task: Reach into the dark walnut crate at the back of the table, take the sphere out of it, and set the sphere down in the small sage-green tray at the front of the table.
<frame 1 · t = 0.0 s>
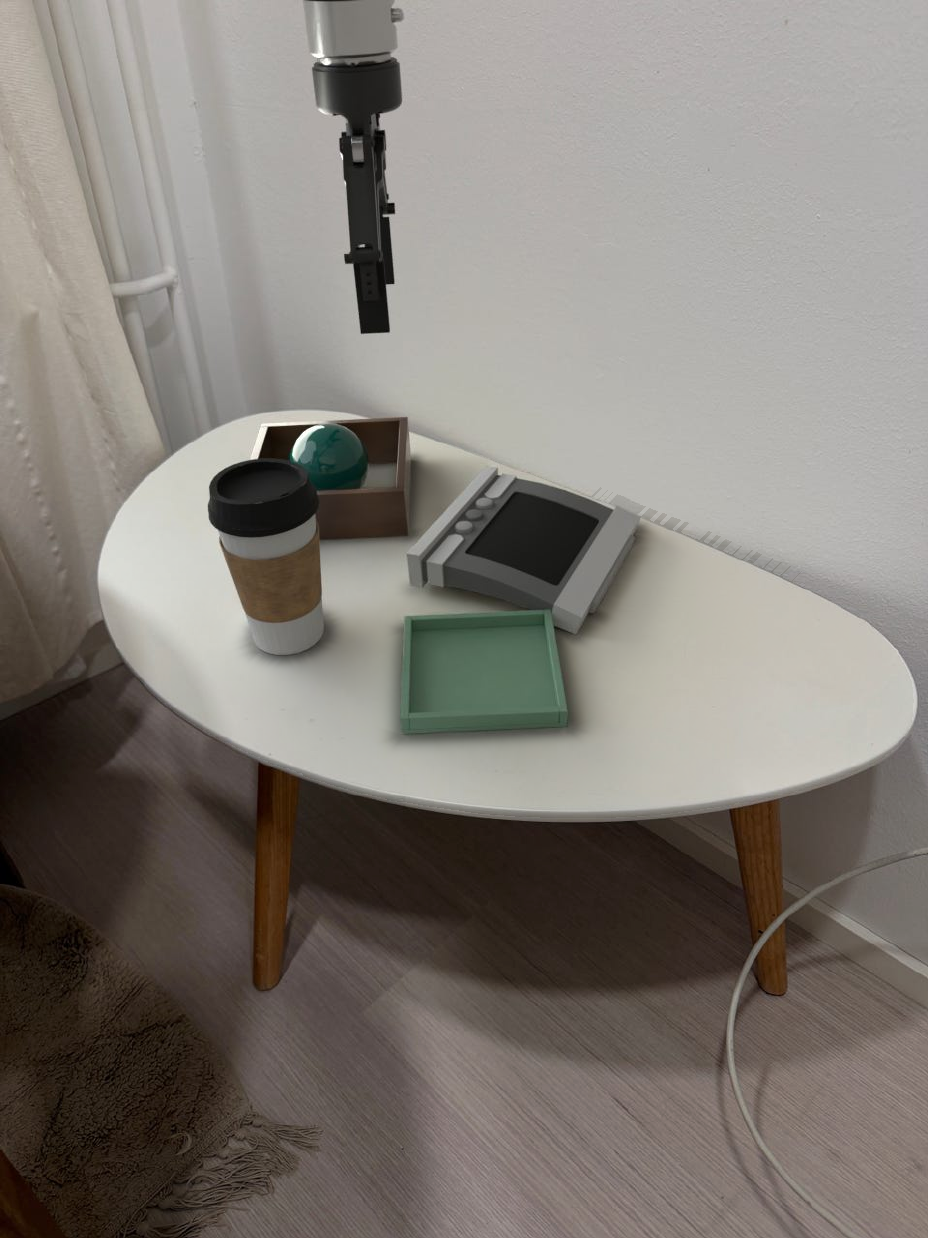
hand: (378, 306, 91), 17 cm above the table, tool pointing down, fingers open, 13 cm apart
coffee cup: (289, 634, 78), on the table
crate: (334, 498, 95), on the table
alarm clock: (529, 560, 85), on the table, touching tray
tray: (481, 675, 73), on the table
sphere: (334, 499, 95), resting in crate
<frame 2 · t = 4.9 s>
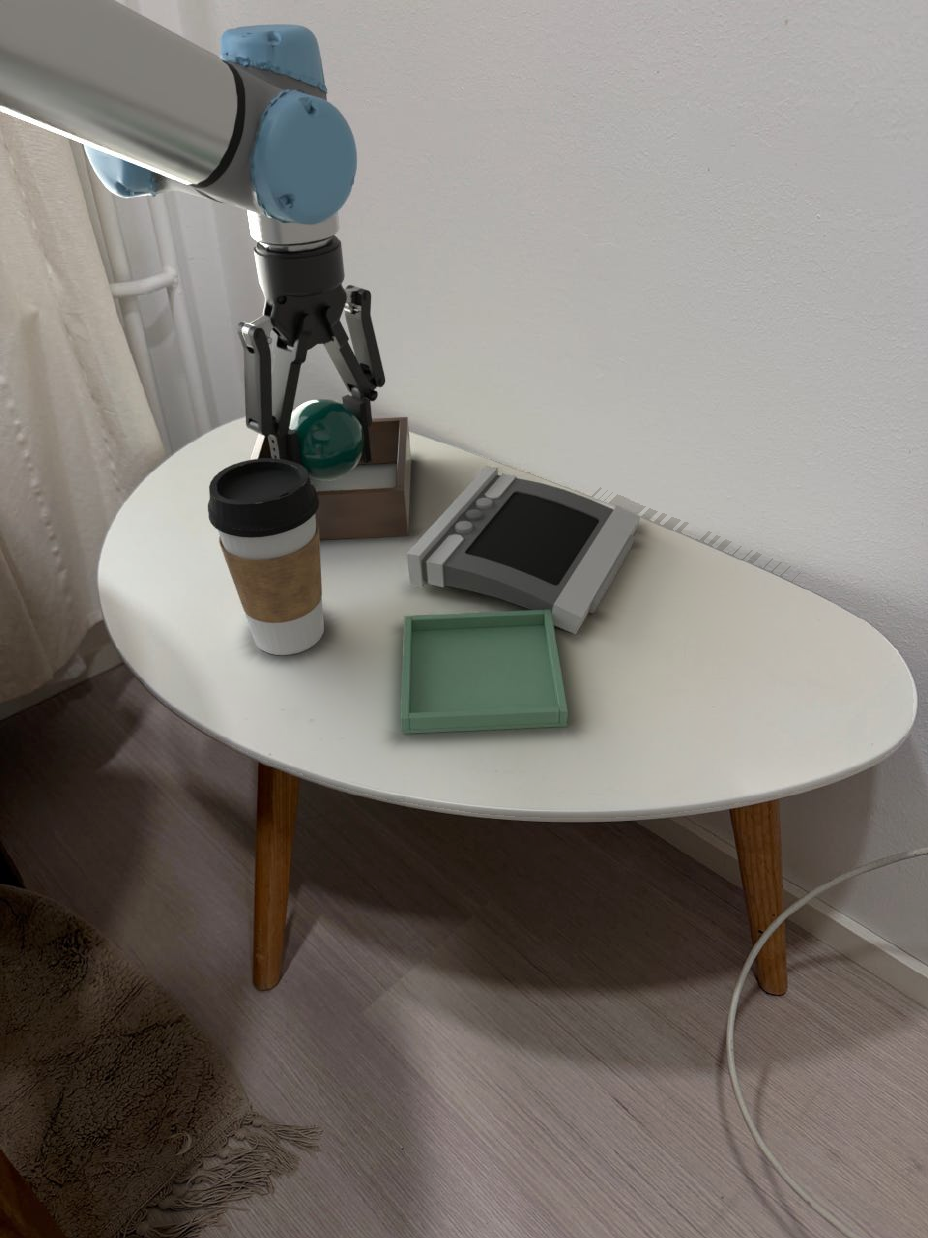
hand: (328, 473, 93), 3 cm above the table, tool pointing down, fingers closed on sphere, 8 cm apart
sphere: (328, 477, 93), point 3 cm above the table, touching gripper
everything else where it was.
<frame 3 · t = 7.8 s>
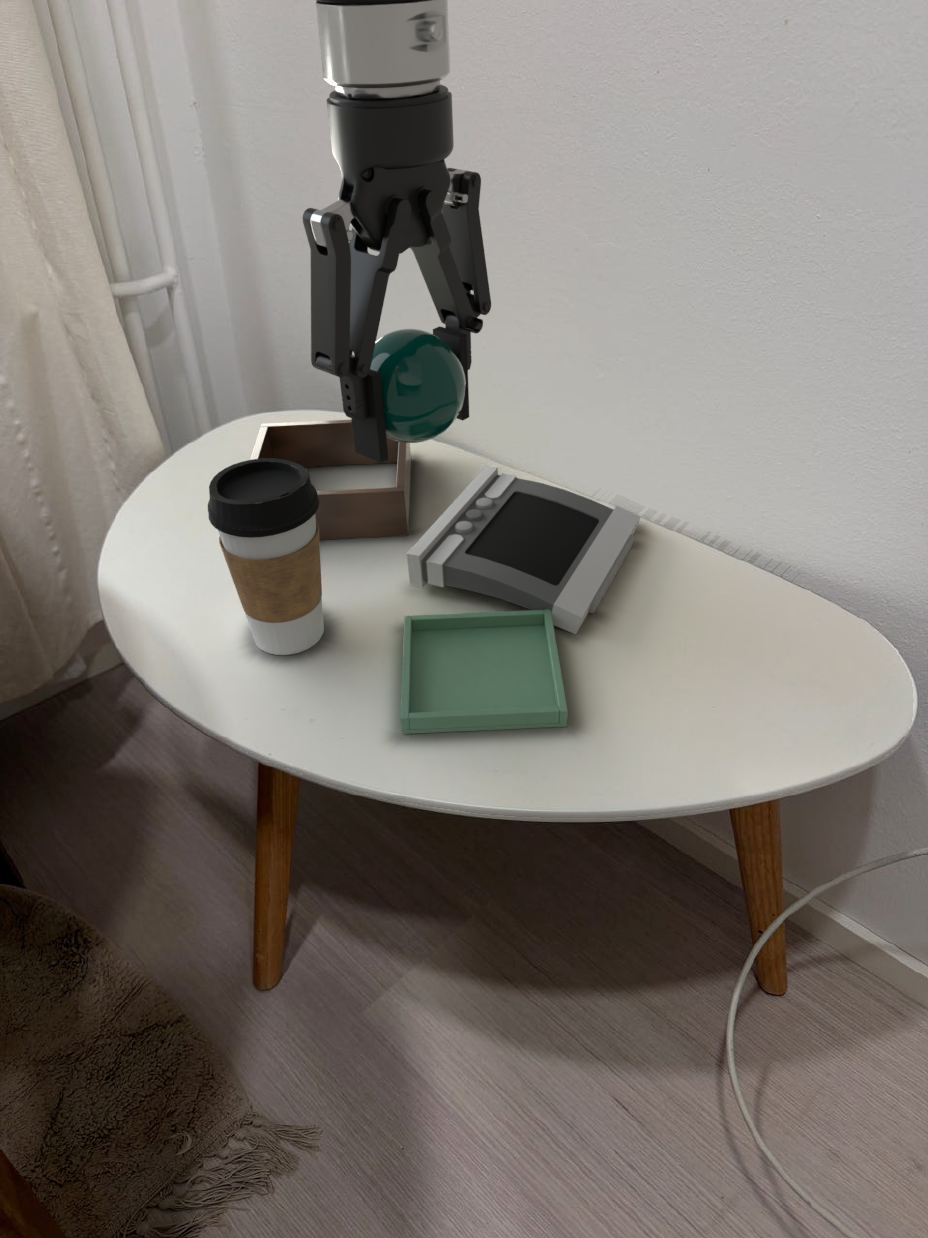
hand: (413, 433, 69), 17 cm above the table, tool pointing down, fingers closed on sphere, 8 cm apart
sphere: (414, 439, 69), point 17 cm above the table, touching gripper
everything else where it was.
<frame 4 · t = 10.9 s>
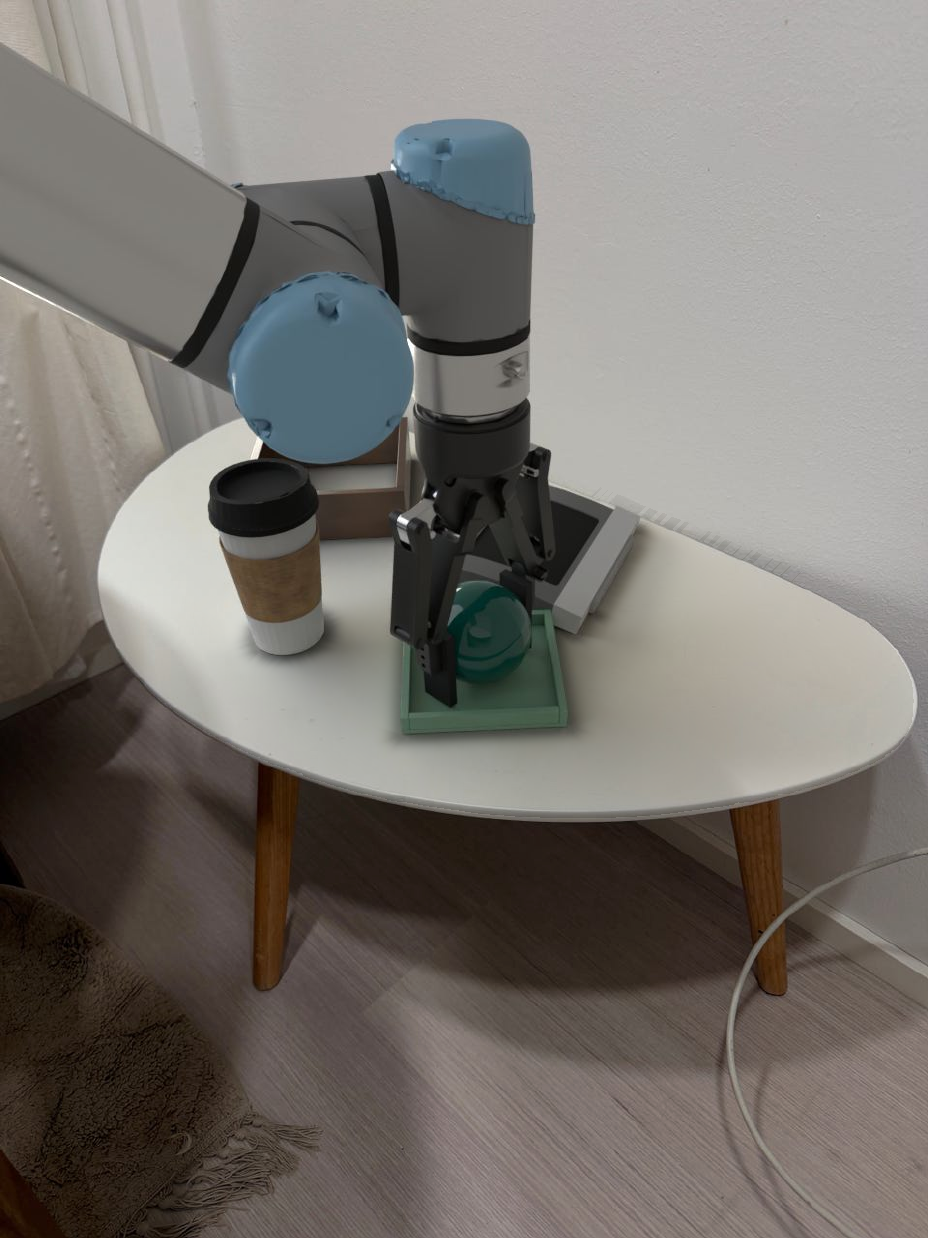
hand: (479, 669, 72), 1 cm above the table, tool pointing down, fingers closed on sphere, 8 cm apart
sphere: (480, 673, 72), resting on tray, touching gripper
everything else where it was.
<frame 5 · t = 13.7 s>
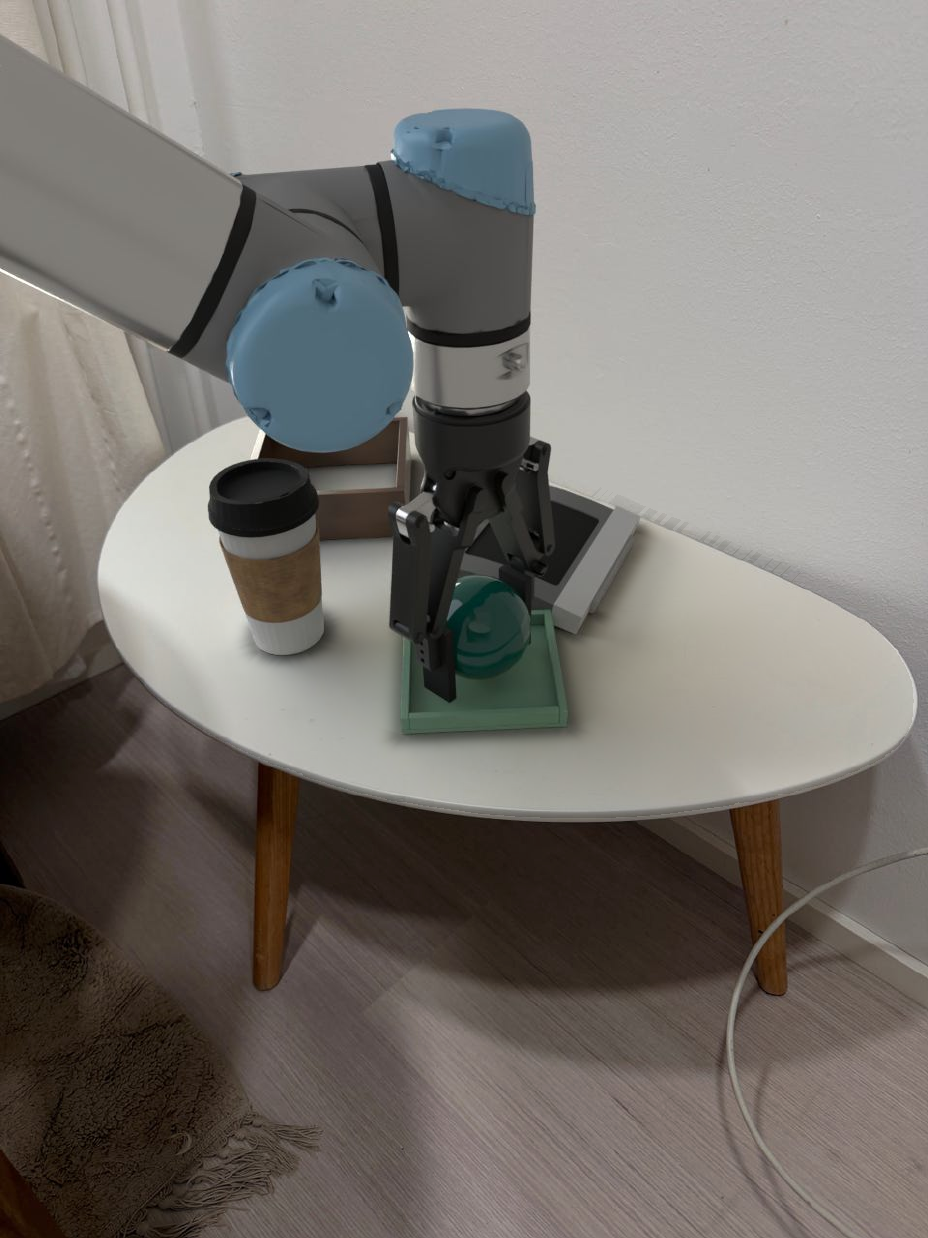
hand: (478, 664, 72), 1 cm above the table, tool pointing down, fingers closed on sphere, 8 cm apart
sphere: (479, 669, 72), point 1 cm above the table, touching gripper
everything else where it was.
when the fingers open (1 cm above the table, at t = 16.3 s): sphere stays where it is, resting on tray.
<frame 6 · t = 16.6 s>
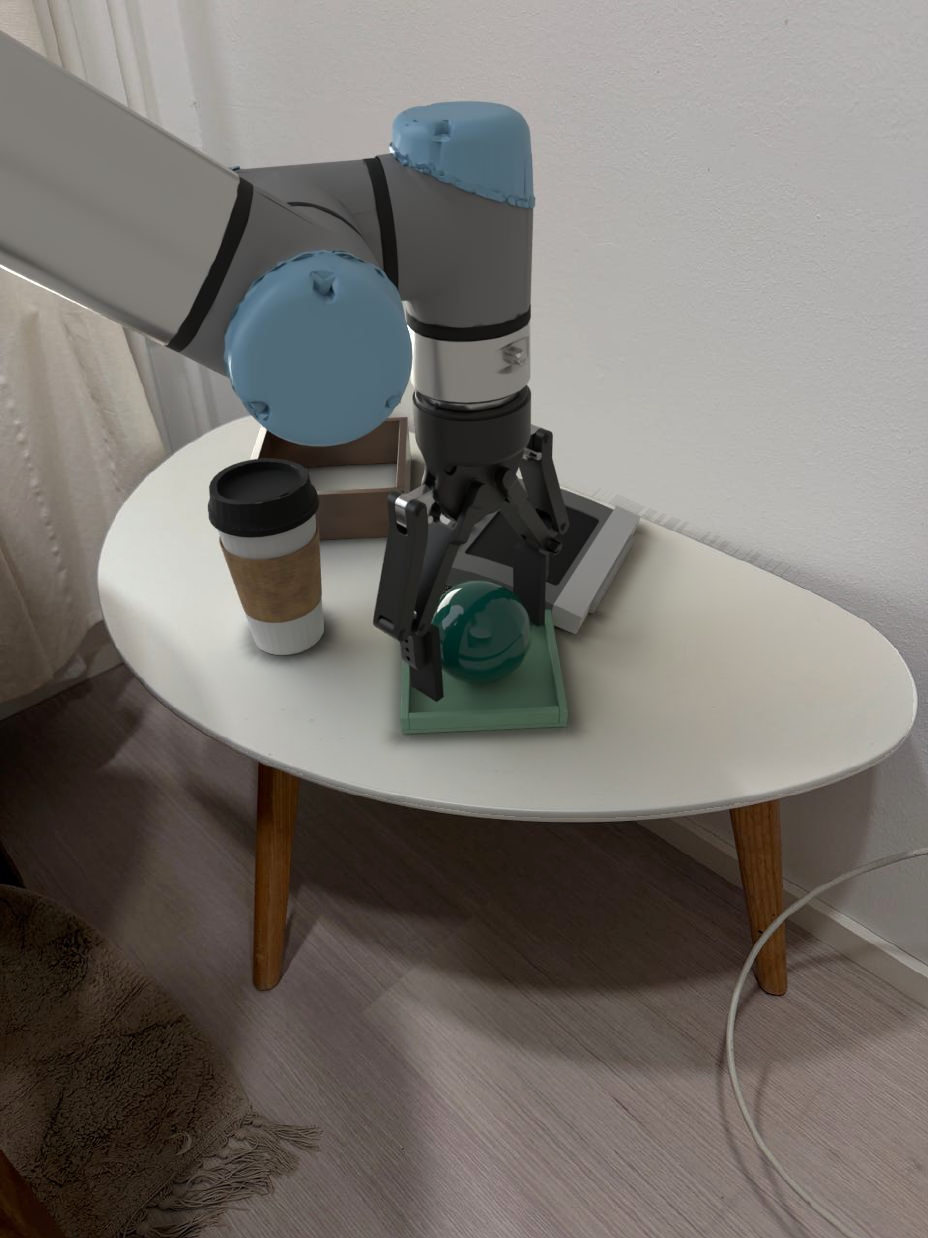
hand: (480, 653, 71), 2 cm above the table, tool pointing down, fingers open, 11 cm apart
sphere: (480, 673, 73), resting on tray
everything else where it was.
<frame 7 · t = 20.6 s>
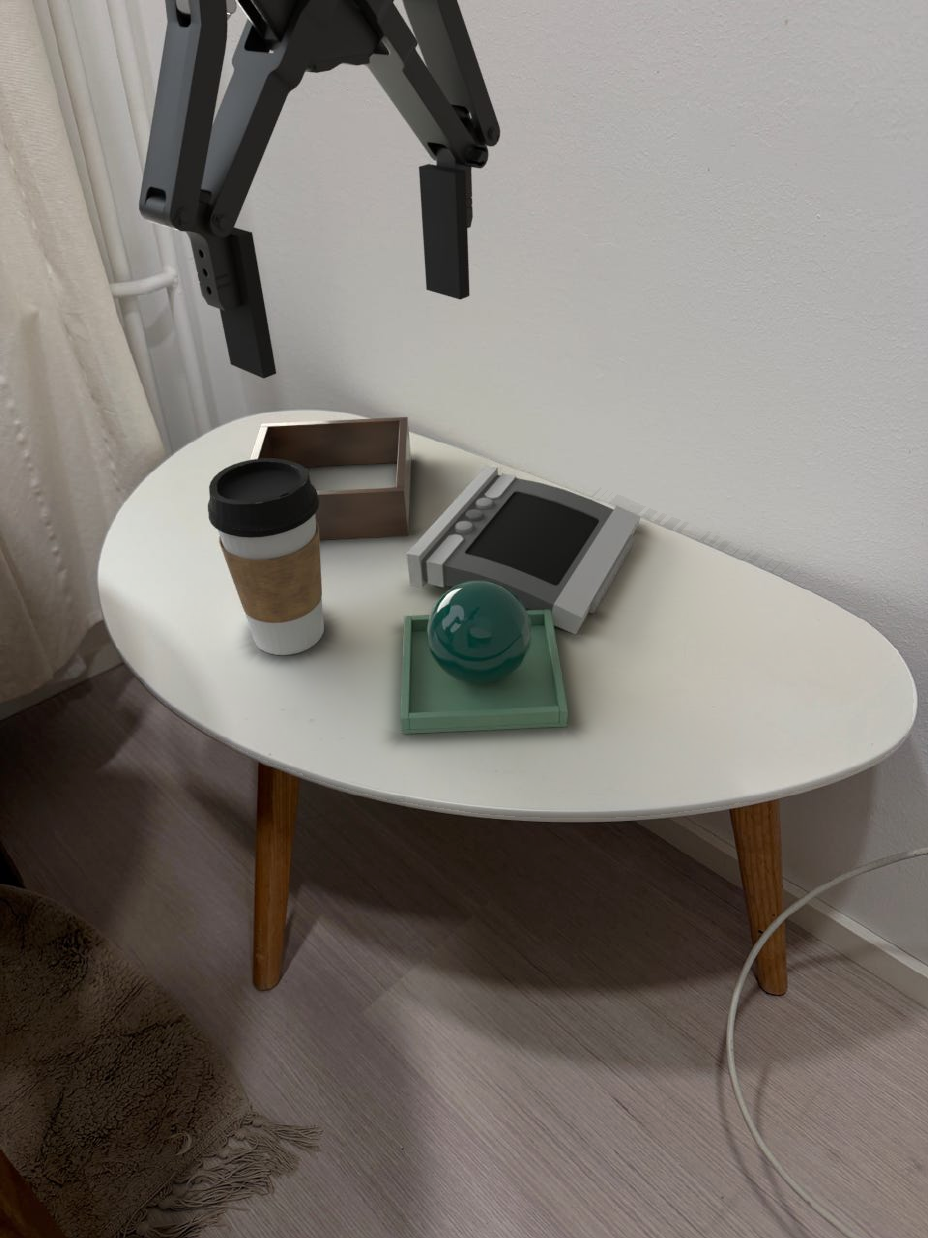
hand: (358, 328, 49), 31 cm above the table, tool pointing down, fingers open, 13 cm apart
nothing on the table moved.
at the end: sphere inside the target area on the tray (0.0 cm from its centre), point 0.2 cm above the tray's base; sphere moved 31.7 cm from its start; the gripper is holding nothing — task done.
